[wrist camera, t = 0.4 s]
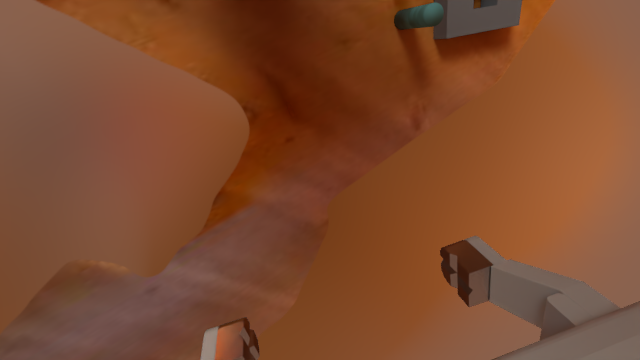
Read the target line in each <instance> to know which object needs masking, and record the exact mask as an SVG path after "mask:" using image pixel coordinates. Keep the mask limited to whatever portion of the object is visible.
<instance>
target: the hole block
mask: <svg viewBox="0 0 640 360" xmlns="http://www.w3.org/2000/svg"><path fill="white" fill-rule="evenodd" d="M434 3H439V4H441V5H442V7H443V10H444V15H443V19H442V21H441V22H440V23H439V24H438V25H436V26H434V39H447V38H453V37H458V36H463V35H469V34H474V33H479V32H484V31H490V30H495V29H500V28H506V27H511V26H516V25H519V19H520V11H521V4H522V0H481V8H476V9H473V5H474V0H434Z"/></svg>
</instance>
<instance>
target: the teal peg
mask: <svg viewBox="0 0 640 360" xmlns="http://www.w3.org/2000/svg"><path fill="white" fill-rule="evenodd" d="M443 15H444V10H443V7H442V5H441V4H439V3H431V4H426V5H422V6H418V7H413V8H409V9H404V10H400V11H399V12H398V13H397V14H396V15H395V18H394V23H395V26H396V27H397V28H398V29H411V28H421V27H431V26H436V25H438V24H439V23H440V22H441V21H442V19H443Z"/></svg>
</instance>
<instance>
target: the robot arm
mask: <svg viewBox="0 0 640 360" xmlns="http://www.w3.org/2000/svg"><path fill="white" fill-rule="evenodd" d="M440 255H441V256H442V258H443V261H442V263H441V269H442V272H443V275H444V277H445V279H446V280H447V282H448V283H449V284H450V285H451V286H453V287H455V288H457V289H458V295H459V296H460V297H461V299H462V300H463V301H464V302H465V303H466V304H467V306H468V307H471V306H474V305H477V304H480V303H483V302H486V301H489V302H491V303H493V304H495V305H497V306H499V307H501V308H503V309H505V310H507V311H508V312H510V313H512V314H514V315H516V316H518V317H520V318H522V319H524V320H526V321H528V322H530V323H532V324H534V325H536V326H537V327H540V328H541V329H542V331H541V336H540V341H538V342H535V343H533V344H530V345H528V346H525V347H523V348H520V349H517V350H515V351H512V352H510V353H507V354H505V355H502V356H500V357H497V358H495V359H492V360H640V301H639V302H636V303H634V304H631V305H628V306H626V307H624V308H619V307H618V306H617V305H615V304H614V303H612V302H611V301H610V300H608V299H607V298H606V297H604V296H603V295H601V294H600V293H599V292H597V291H596V290H594V289H593V288H592V287H590V286H589V285H587V284H586V283H584V282H582V281H579V280H576V279H572V278H569V277H566V276H563V275H559V274H556V273H553V272H549V271H546V270H543V269H540V268H536V267H533V266H530V265H526V264H523V263H520V262H517V261H513V260H506V259H504V258H503V257H502V256H501V255H500V254H498V253H497V252H496V251H495V250H493V249H492V248H491V247H490V246H488V244H486V243H485V242H484V241H483V240H482V239H480V238H479V237H477V236H473V237H470V238H467V239H465V240H462V241H459V242H456V243H453V244H451V245H448V246H445V247H442V248H441V250H440ZM258 358H259V345H258V340H257V337H256V334H255V332H254V330H252V329H250V323H249V321H248V319H247V317H244V318H241V319H238V320H235V321H232V322H229V323H226V324H223V325H220V326H217V327H214V328H211V329H208V330H206V332H205V334H204V340H203V346H202V353H201V359H200V360H258Z"/></svg>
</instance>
